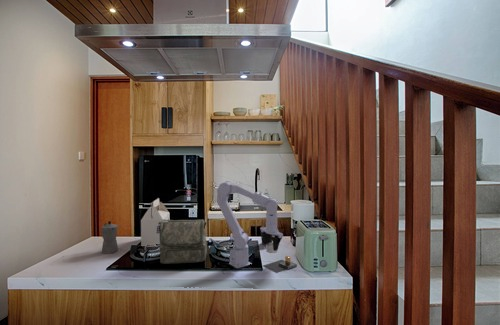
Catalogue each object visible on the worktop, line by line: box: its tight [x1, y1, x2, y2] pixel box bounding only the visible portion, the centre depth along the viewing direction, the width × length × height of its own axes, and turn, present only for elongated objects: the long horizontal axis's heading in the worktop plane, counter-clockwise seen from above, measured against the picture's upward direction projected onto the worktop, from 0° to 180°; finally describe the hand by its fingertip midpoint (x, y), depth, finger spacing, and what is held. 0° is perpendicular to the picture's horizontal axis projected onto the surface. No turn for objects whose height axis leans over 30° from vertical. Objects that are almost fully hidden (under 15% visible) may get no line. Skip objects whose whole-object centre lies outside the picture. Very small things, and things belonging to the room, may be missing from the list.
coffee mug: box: [259, 226, 274, 246], centre depth 182 cm, size 12×9×10 cm
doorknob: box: [279, 255, 298, 270], centre depth 144 cm, size 6×6×5 cm
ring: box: [265, 242, 278, 254], centre depth 145 cm, size 6×6×4 cm
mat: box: [262, 259, 288, 274], centre depth 143 cm, size 14×11×1 cm
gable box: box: [140, 197, 171, 246], centre depth 184 cm, size 22×13×28 cm, turn 6°
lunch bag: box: [157, 219, 208, 265], centre depth 155 cm, size 26×18×22 cm
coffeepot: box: [100, 220, 119, 255], centre depth 167 cm, size 15×9×18 cm, turn 44°
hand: (271, 248), depth 145 cm, fingers closed on ring, 6 cm apart
